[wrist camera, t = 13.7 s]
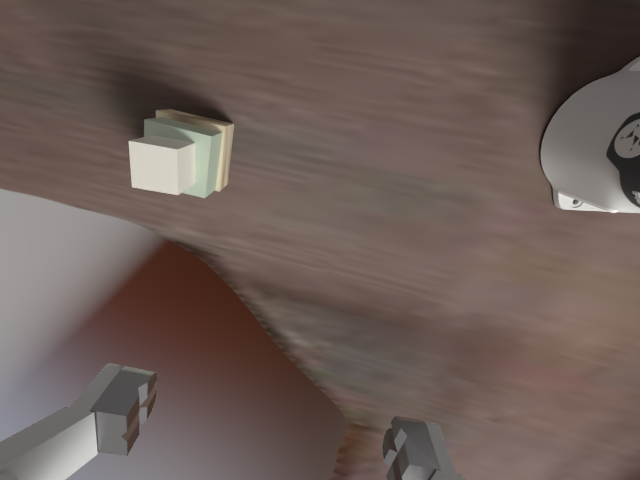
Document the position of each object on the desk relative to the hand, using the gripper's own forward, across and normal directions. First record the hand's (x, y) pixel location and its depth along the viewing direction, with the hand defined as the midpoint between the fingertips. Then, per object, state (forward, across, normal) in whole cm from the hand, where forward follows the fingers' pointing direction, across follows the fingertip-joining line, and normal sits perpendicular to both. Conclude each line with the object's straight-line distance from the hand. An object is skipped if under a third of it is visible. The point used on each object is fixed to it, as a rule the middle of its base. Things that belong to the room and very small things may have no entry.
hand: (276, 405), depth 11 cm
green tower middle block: (+32, +15, 0) cm, 35 cm away
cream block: (+28, +15, 0) cm, 31 cm away
